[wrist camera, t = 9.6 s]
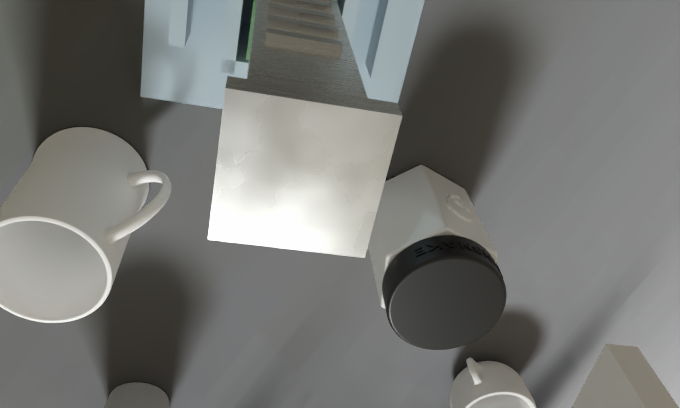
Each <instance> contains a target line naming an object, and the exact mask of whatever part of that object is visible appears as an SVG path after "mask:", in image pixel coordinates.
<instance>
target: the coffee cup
mask: <svg viewBox="0 0 680 408" xmlns="http://www.w3.org/2000/svg"><path fill="white" fill-rule="evenodd" d="M104 408H170V402H169V399H168V396H167V395H166V393H165V392H164V391H163V390H161V389H160V388H158V387H156V386H154V385H151V384H147V383H139V382H133V383H126V384H122V385H120V386H118V387H116V388H115V389H114V390H113V391H112V392H111V393H110V395H109V397H108V399H107V402H106V404H105V406H104Z"/></svg>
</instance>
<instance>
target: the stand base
mask: <svg viewBox="0 0 680 408" xmlns="http://www.w3.org/2000/svg"><path fill="white" fill-rule="evenodd" d="M253 1H254V0H145V10H144V31H143V52H142V74H141V95H140V97H146V98H153V99H160V100H166V101H173V102H179V103H186V104H193V105H199V106H206V107H213V108H219V109H223V103H224V94H225V87H226V81H227V76H232V77H238V78H244V79H246V78H247V70H248V61H249V60H246V55H247V47H248V39H249V32H250V24H251V16H252V8H253ZM424 1H425V0H337V3H338V7H339V10H340V13H341V16H342V19H343V22H344V25H345V29H346V32H347V35H348V38H349V41H350V44H351V47H352V50H353V54H354V57H355V60H356V63H357V66H358V69H359V72H360V75H361V79H362V82H363V85H364V88H365V91H366V94H367V97H368V98H369V99H375V100H382V101H388V102H394V103H397V104H398V101H399V97H400V93H401V89H402V86H403V82H404V78H405V74H406V70H407V66H408V62H409V59H410V55H411V51H412V47H413V43H414V39H415V35H416V32H417V28H418V24H419V20H420V16H421V12H422V9H423V5H424Z"/></svg>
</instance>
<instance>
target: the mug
mask: <svg viewBox="0 0 680 408" xmlns="http://www.w3.org/2000/svg"><path fill="white" fill-rule="evenodd" d="M149 182H159V183H162V187H161V190H160V191H159V193H158V194H157V196H156V197H155V198H154V199H153V200H152V201H151V202H150V203H149V204H148V205H147V206H146V207H144V208H143V209H142V210H141V211H139V210H140V209H141V208H142V206H143V205H144V203H145V201H146V199H147V196H148V192H149ZM170 193H171V182H170V180H169V178H168V177H167V176H166V175H165V174H164V173H162V172H160V171H155V170H147V169H146V166H145V164H144V162H143V160H142V158H141V157H140V155H139V154H138V153H137V152H136V150H135V149H134V148H133V147H132V146H131V145H129V144H128V143H127V142H126V141H124V140H123V139H121V138H120V137H118V136H116V135H114V134H112V133H110V132H107V131H104V130H101V129H96V128H90V127H74V128H69V129H65V130H62V131H59V132H57V133H55V134H53V135H51V136H50V137H48V138H47V139H46V140H45V141H44V142H43V143H42V144H41V145H40V146H39V148H38V149H37V151H36V153H35V155H34V157H33V160H32V164H31V165H30V167H29V168H28V169H27V171H26V172H25V174H24V175H23V176H22V178H21V179H20V181H19V182H18V183H17V185H16V186H15V188H14V189H13V190H12V192H11V193H10V195H9V196H8V198H7V199H6V200H5V202H4V203H3V205H2V206H1V207H0V307H2V308H3V309H5V310H7V311H8V312H10V313H12V314H15V315H17V316H19V317H22V318H25V319H29V320H33V321H38V322H45V323H61V322H69V321H73V320H77V319H80V318H82V317H85V316H87V315H89V314H90V313H92V312H94V311H95V310H96V309H98V308H99V307H100V306H101V305H102V304H103V302H104V301H105V300H106V298H107V296H108V295H109V292H110V290H111V287H112V285H113V282H114V279H115V276H116V273H117V270H118V268H119V265H120V262H121V259H122V256H123V253H124V251H125V248H126V245H127V242H128V239H129V237H130V234H131V232H133V231H135V230H136V229H138V228H139V227H141V226H142V225H143V224H145V223H146V222H147V221H149V220H150V219H151V218H152V217H153V216H154V215H155V214H156V213H157V212H158V211H159V210H160V209H161V208H162V207H163V206H164V204H165V203H166V202H167V200H168V198H169V196H170ZM138 211H139V212H138Z"/></svg>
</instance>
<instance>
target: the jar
mask: <svg viewBox="0 0 680 408" xmlns="http://www.w3.org/2000/svg"><path fill="white" fill-rule="evenodd" d="M368 248H369V252H370V257H371V262H372V267H373V271H374V276H375V281H376V285H377V290H378V295H379V300H380V304H381V307H383V308H385V309H386V313H387V317H388V320H389V323H390V325H391V327H392V329H393V330H394V331H395V333H396V334H397V335H398V336H399V337H400V338H402V339H403V340H404V341H406V342H408V343H410V344H412V345H414V346H417V347H420V348H424V349H431V350H445V349H452V348H457V347H460V346H463V345H466V344H468V343H471V342H473V341H475V340H477V339H478V338H480V337H481V336H483V335H484V334H485V333H487V332H488V331H489V330H490V329H491V328H492V327H493V326H494V325H495V324H496V322H497V321H498V320H499V318H500V316H501V314H502V312H503V310H504V307H505V303H506V287H505V283H504V280H503V277H502V274H501V272H500V270H499V268H498V265H497V264H496V263H497V258H498V253H497V251H496V249H495V247H494V246H493V244H492V242H491V240H490V238H489V236H488V234H487V232H486V230H485V228H484V226H483V224H482V222H481V220H480V218H479V216H478V214H477V212H476V210H475V208H474V206H473V204H472V202H471V200H470V198H469V196H468V194H467V192H466V190H465V189H464V188H462V187H461V186H459V185H457V184H455V183H453V182H452V181H450V180H448V179H446V178H445V177H443V176H441V175H439V174H438V173H436V172H434V171H432V170H431V169H429V168H427V167H425V166H424V165H418V166H416V167H414V168H412V169H410V170H408V171H406V172H404V173H402V174H400V175H398V176H396V177H394V178H392V179H390V180H387V181H385V183H384V187H383V191H382V195H381V199H380V202H379V206H378V210H377V214H376V217H375V221H374V225H373V229H372V232H371V236H370V240H369V244H368Z"/></svg>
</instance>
